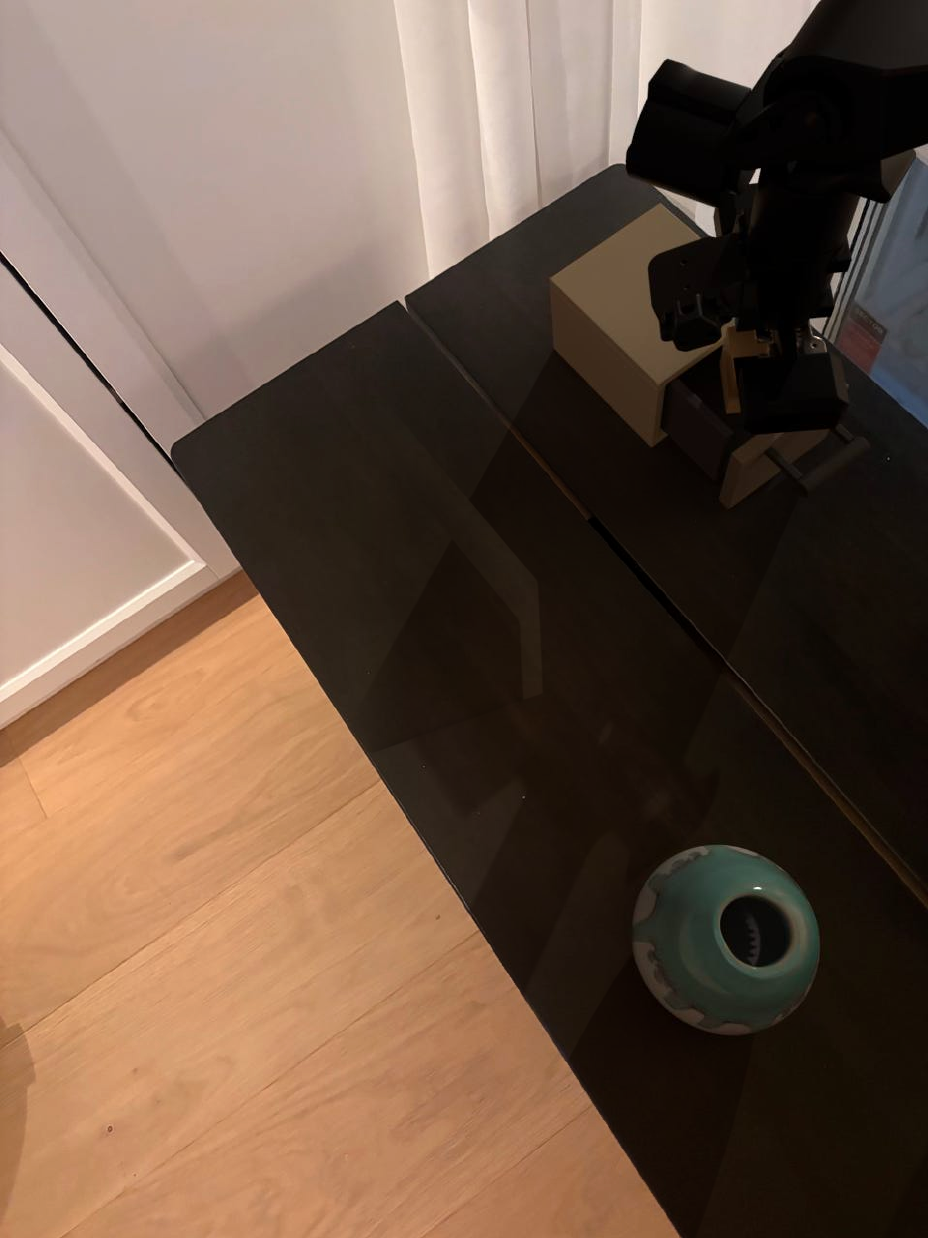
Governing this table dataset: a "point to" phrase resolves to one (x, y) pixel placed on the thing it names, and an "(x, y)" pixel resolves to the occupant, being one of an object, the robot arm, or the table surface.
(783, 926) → the vase
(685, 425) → the pull-out drawer box
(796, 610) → the table surface
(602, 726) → the table surface
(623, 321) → the beige drawer cabinet
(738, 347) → the block
